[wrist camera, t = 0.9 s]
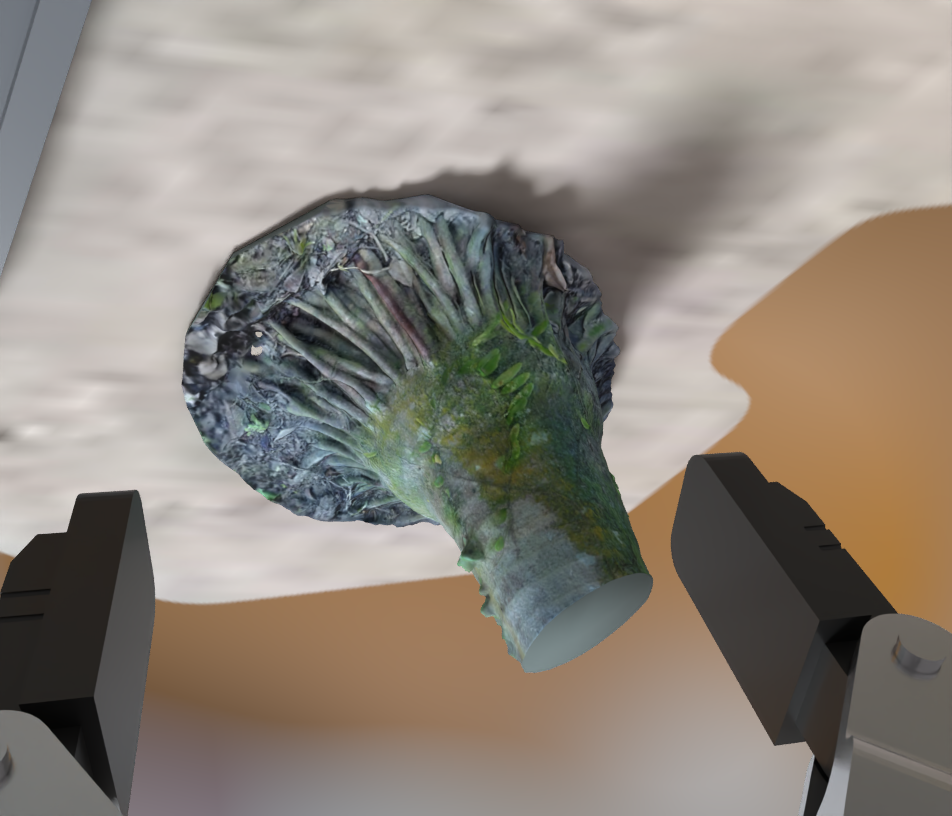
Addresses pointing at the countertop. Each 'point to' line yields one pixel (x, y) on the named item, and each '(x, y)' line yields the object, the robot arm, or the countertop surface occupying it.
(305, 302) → the tree stump
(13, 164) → the tray
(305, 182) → the countertop surface
